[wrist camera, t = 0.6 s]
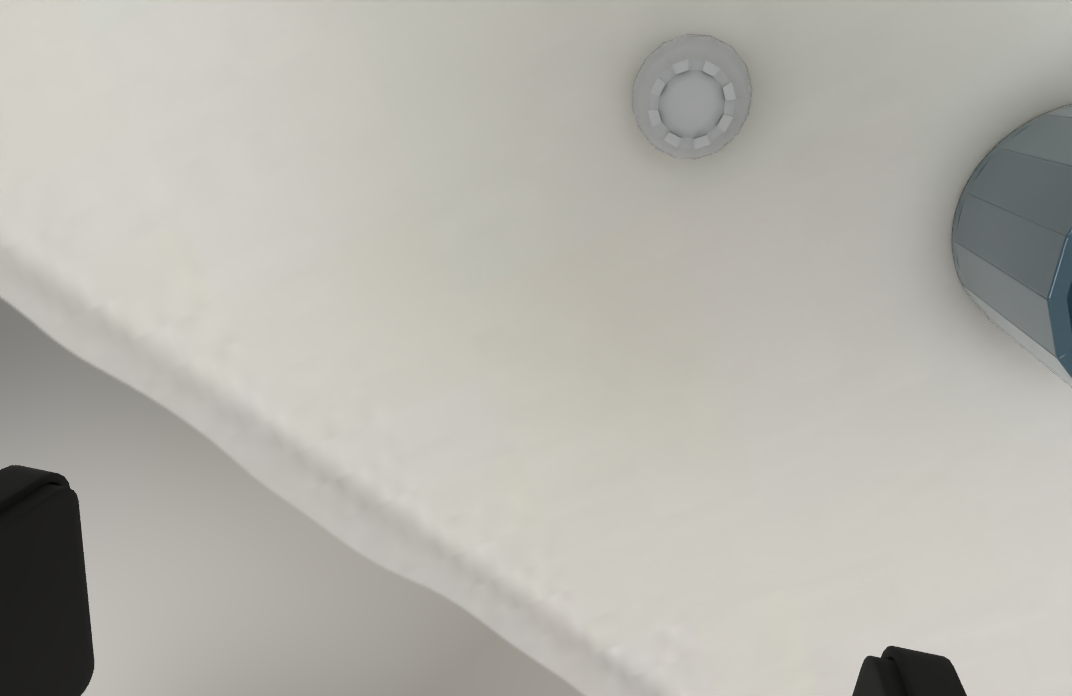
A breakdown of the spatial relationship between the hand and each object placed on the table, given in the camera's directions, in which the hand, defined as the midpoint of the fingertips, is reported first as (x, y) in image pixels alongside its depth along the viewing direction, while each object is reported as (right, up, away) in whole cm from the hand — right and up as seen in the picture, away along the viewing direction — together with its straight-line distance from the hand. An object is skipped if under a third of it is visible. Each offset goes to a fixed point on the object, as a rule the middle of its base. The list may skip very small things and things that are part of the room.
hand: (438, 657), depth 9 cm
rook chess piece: (+7, +13, +21) cm, 26 cm away
